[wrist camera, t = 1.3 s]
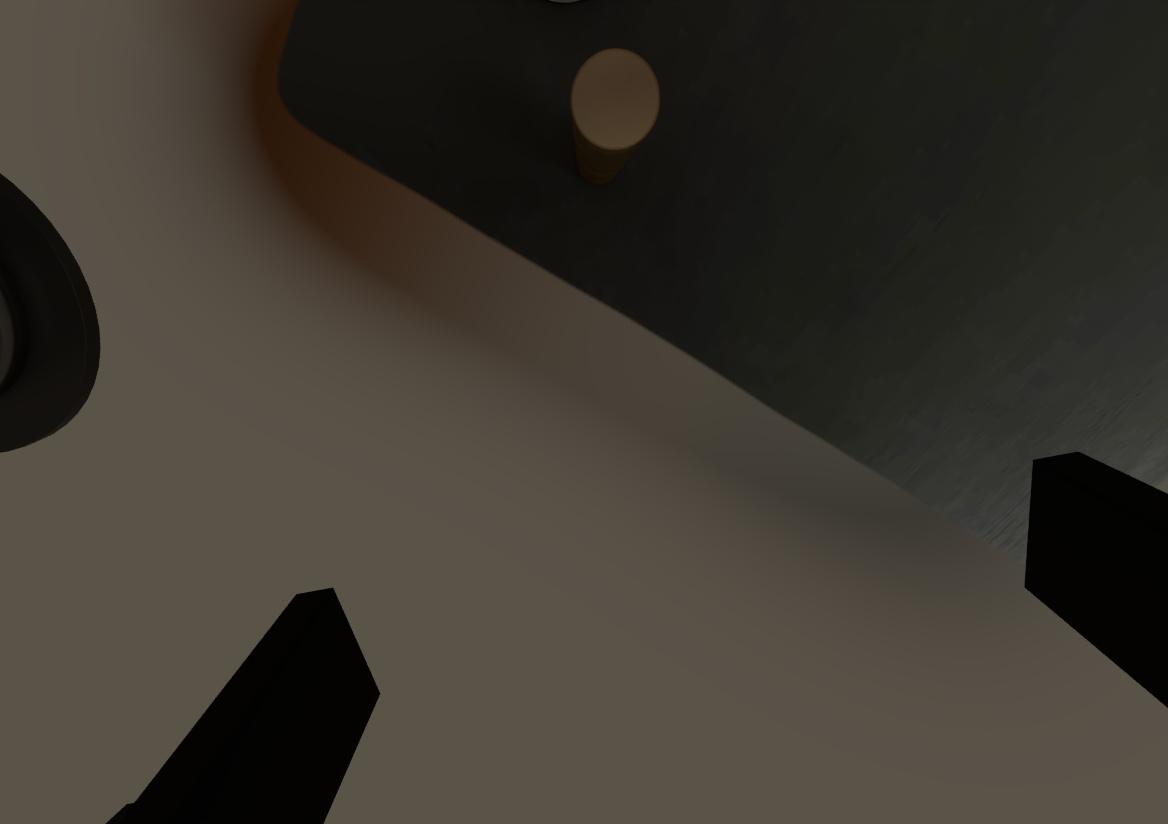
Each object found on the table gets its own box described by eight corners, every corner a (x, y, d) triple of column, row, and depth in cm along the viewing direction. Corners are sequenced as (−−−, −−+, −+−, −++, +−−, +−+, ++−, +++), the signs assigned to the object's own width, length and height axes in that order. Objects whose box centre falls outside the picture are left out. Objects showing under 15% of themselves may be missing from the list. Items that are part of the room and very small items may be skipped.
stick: (569, 151, 32) (554, 78, 15) (608, 128, 32) (636, 28, 15) (589, 192, 33) (595, 167, 16) (627, 171, 33) (675, 121, 16)
